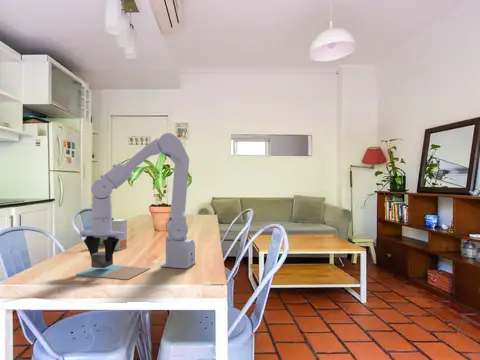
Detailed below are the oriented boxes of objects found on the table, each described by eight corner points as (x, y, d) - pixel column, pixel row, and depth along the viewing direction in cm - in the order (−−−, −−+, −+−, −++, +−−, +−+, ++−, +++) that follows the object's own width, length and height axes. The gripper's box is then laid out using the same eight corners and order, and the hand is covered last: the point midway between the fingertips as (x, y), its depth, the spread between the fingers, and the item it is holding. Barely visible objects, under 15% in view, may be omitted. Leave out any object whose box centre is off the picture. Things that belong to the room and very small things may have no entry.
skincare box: (119, 250, 133) (119, 221, 132) (109, 250, 133) (109, 220, 133) (127, 247, 138) (127, 219, 138) (118, 247, 139) (118, 218, 139)
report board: (149, 269, 106) (149, 268, 106) (127, 280, 95) (127, 279, 95) (102, 264, 111) (102, 264, 111) (75, 274, 100) (75, 274, 100)
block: (112, 264, 106) (112, 252, 106) (104, 268, 102) (104, 255, 102) (100, 263, 107) (100, 251, 107) (91, 267, 103) (91, 254, 103)
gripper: (129, 216, 107) (129, 258, 107) (89, 215, 109) (89, 256, 110) (117, 219, 100) (117, 264, 100) (75, 218, 103) (74, 261, 103)
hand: (101, 260), depth 104 cm, fingers closed on block, 4 cm apart
